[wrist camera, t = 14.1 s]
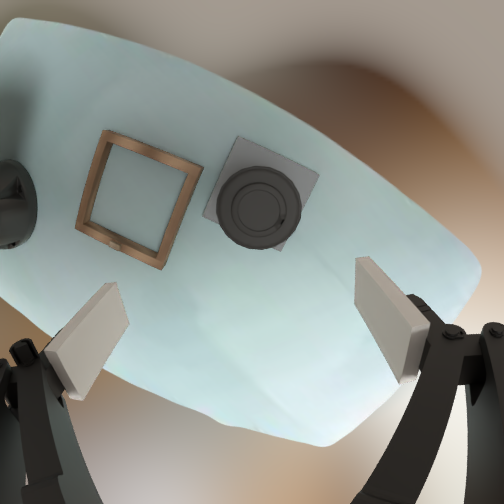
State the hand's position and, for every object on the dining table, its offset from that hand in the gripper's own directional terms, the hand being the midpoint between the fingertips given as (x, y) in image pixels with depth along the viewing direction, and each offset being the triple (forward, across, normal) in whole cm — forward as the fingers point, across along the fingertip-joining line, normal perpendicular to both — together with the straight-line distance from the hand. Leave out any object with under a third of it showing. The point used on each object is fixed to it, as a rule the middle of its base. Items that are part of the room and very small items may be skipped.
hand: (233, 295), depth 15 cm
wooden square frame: (+24, -14, +3) cm, 28 cm away
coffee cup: (+23, +2, +2) cm, 23 cm away
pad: (+23, +2, +2) cm, 24 cm away
